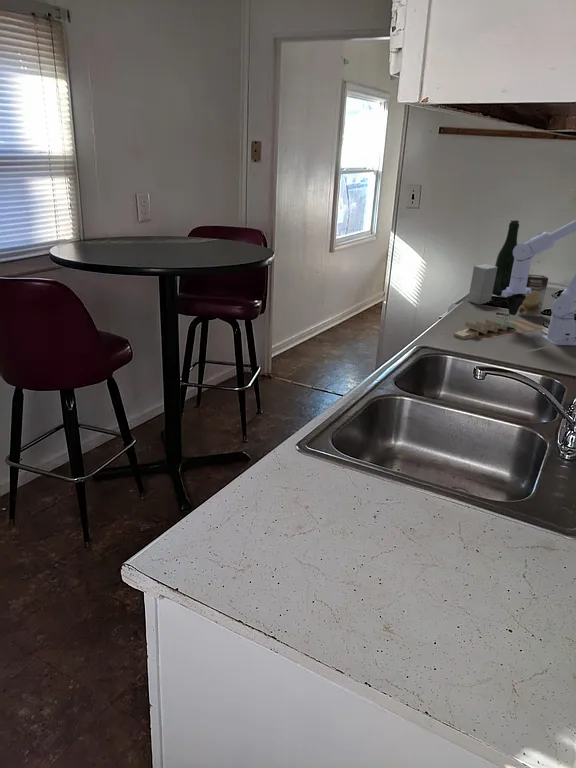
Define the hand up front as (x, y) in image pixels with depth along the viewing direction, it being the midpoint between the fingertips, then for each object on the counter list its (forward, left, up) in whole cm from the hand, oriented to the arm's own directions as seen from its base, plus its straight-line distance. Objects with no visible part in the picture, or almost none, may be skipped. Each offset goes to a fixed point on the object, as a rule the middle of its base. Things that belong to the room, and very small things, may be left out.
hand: (512, 314), depth 218 cm
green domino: (0, -1, -4) cm, 4 cm away
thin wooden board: (-2, +3, -6) cm, 7 cm away
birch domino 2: (-8, +13, -4) cm, 16 cm away
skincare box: (+42, -4, -6) cm, 42 cm away
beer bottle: (+61, -22, -6) cm, 65 cm away
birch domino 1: (-10, +17, -4) cm, 21 cm away
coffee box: (+21, -16, -6) cm, 27 cm away
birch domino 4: (-2, +4, -4) cm, 6 cm away
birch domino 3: (-5, +8, -4) cm, 11 cm away
